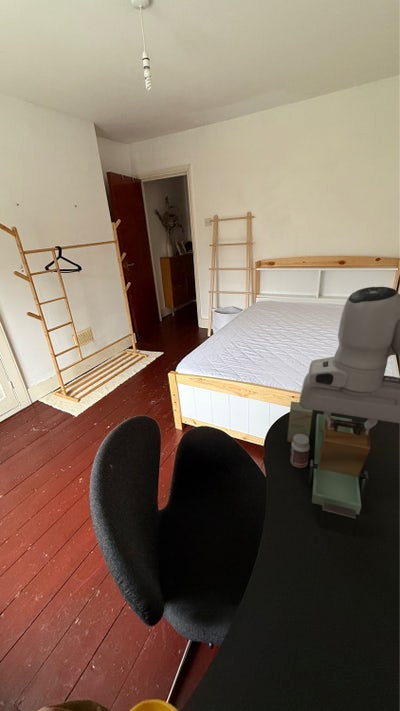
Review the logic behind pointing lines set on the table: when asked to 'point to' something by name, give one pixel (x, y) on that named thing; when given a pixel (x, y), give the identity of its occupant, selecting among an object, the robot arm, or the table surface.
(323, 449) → the open cardboard crate
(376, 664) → the table surface
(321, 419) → the tray
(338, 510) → the cradle
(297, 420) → the cosmetic box
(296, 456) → the pill bottle
